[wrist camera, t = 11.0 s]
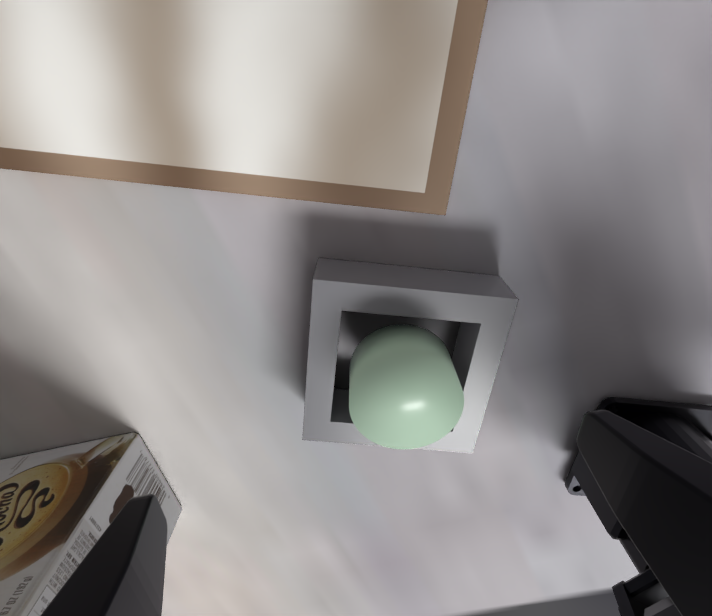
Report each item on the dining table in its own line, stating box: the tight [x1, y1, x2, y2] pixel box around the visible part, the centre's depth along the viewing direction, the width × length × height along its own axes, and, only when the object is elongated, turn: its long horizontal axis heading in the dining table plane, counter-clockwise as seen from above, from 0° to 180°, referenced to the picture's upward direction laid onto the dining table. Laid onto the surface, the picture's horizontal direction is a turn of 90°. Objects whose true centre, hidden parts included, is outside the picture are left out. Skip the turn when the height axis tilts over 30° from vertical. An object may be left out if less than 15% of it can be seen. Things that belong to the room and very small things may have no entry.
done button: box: [349, 324, 464, 449], centre depth 17 cm, size 4×4×2 cm
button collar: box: [302, 258, 519, 453], centre depth 19 cm, size 8×8×2 cm
